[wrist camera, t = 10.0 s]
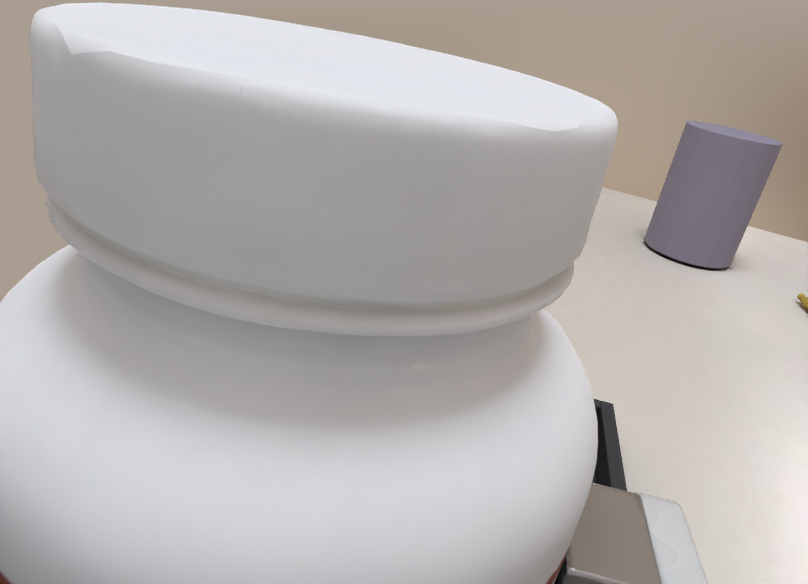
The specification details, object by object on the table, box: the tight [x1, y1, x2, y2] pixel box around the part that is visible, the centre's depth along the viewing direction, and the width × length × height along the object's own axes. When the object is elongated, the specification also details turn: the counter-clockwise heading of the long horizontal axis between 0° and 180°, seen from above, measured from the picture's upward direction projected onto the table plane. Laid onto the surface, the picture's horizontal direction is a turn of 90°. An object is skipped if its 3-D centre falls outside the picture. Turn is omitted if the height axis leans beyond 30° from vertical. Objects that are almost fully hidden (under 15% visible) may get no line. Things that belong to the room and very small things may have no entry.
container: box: [644, 121, 783, 269], centre depth 74 cm, size 10×10×15 cm
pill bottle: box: [0, 3, 618, 584], centre depth 8 cm, size 6×6×11 cm
